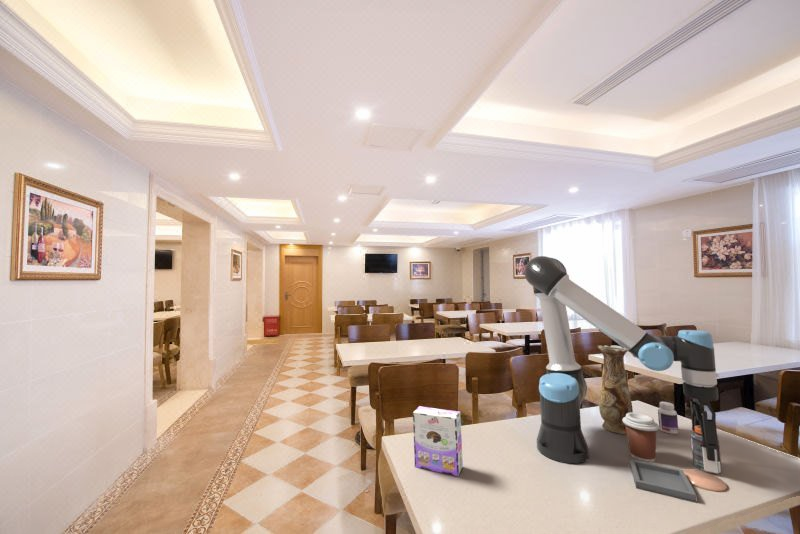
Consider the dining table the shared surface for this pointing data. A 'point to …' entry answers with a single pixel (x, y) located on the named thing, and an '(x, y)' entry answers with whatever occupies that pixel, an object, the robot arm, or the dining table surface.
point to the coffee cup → (641, 436)
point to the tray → (662, 480)
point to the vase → (614, 390)
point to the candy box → (438, 440)
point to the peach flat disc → (704, 480)
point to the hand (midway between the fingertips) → (707, 465)
